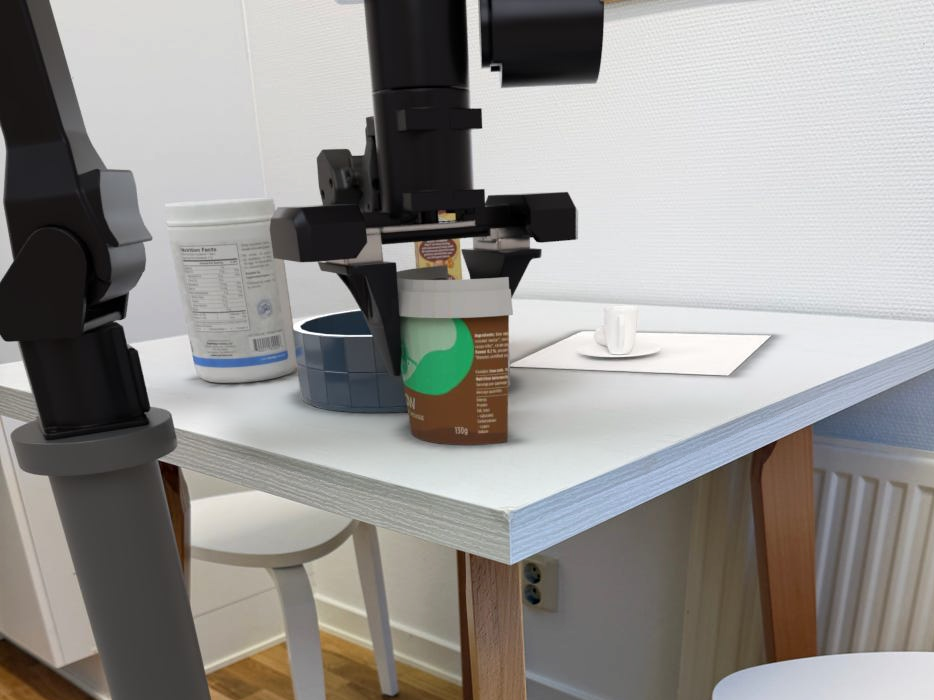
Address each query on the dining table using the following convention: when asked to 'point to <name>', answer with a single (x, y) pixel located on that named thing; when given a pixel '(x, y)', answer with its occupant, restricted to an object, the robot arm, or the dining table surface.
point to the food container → (455, 355)
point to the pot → (346, 366)
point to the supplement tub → (232, 289)
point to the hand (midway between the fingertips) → (438, 369)
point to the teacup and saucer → (644, 349)
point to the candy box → (440, 252)
